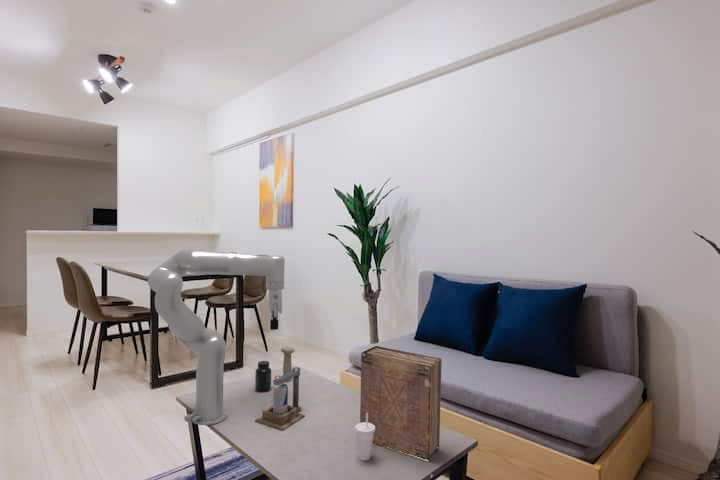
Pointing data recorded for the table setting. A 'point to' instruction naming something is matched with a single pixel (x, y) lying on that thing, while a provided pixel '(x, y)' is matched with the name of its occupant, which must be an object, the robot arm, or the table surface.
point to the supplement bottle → (263, 377)
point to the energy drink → (280, 399)
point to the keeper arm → (286, 376)
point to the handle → (287, 359)
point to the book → (402, 399)
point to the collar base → (288, 418)
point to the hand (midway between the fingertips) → (274, 329)
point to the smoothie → (364, 439)
